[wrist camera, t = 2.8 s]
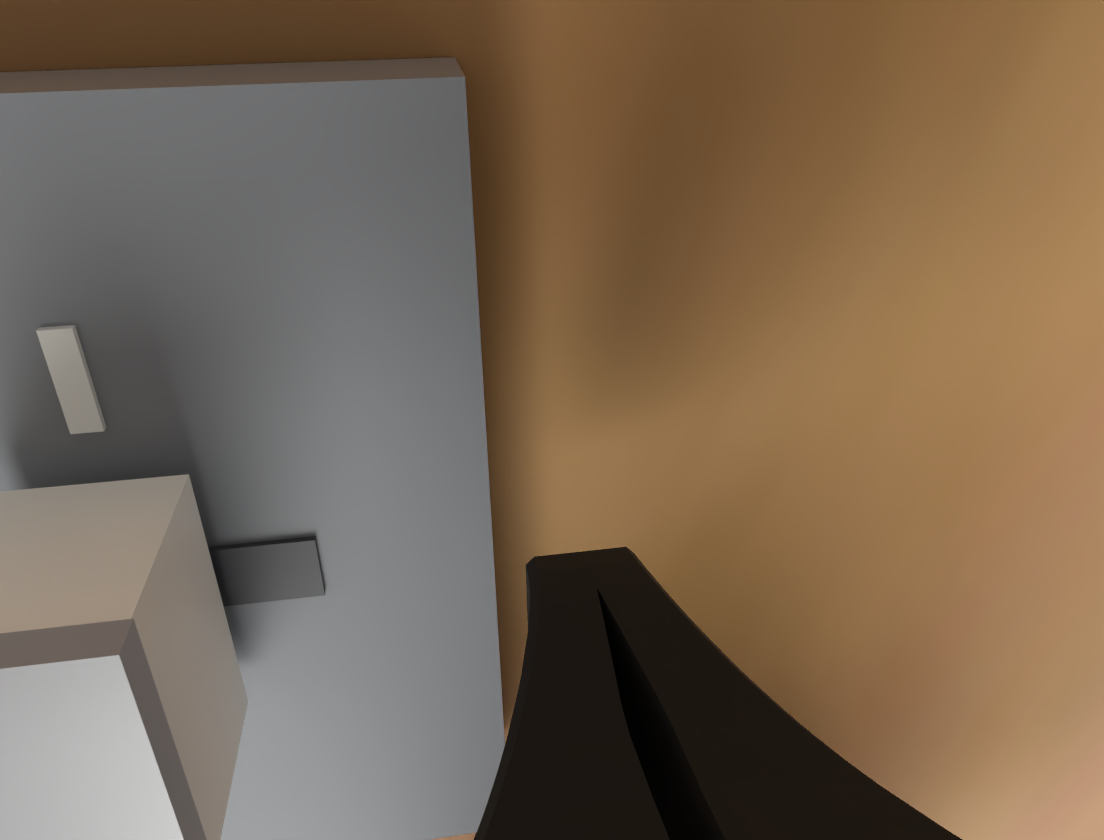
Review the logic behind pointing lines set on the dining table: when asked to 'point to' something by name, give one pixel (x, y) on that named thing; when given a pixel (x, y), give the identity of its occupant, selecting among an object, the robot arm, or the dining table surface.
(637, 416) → the dining table surface
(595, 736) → the robot arm
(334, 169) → the console
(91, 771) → the fader tab
